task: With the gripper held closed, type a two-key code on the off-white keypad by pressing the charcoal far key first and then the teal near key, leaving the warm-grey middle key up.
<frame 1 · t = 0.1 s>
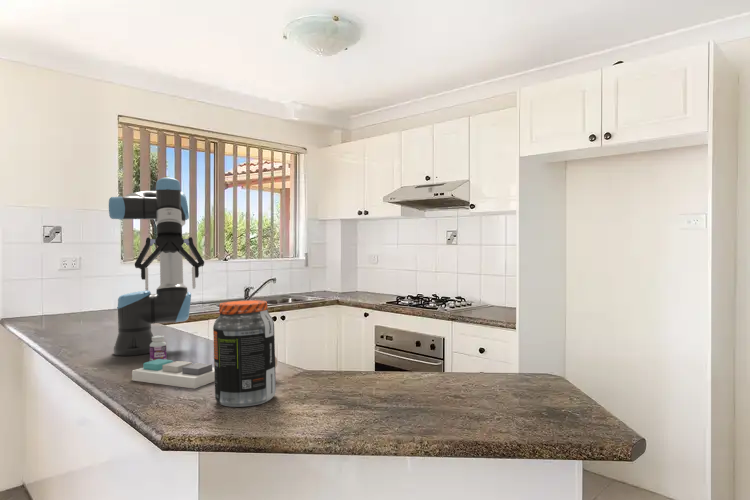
hand: (170, 288, 159), 28 cm above the countertop, tool tilted 20°, fingers open, 13 cm apart
teal key: (158, 366, 161), point 3 cm above the countertop, slide at 0.0 cm
pill bottle: (158, 364, 179), on the countertop
charcoal key: (197, 370, 154), point 3 cm above the countertop, slide at 0.0 cm
keypad: (177, 379, 158), on the countertop
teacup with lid: (261, 378, 158), on the countertop
grey key: (177, 368, 158), point 3 cm above the countertop, slide at 0.0 cm
supplement tub: (245, 400, 136), on the countertop
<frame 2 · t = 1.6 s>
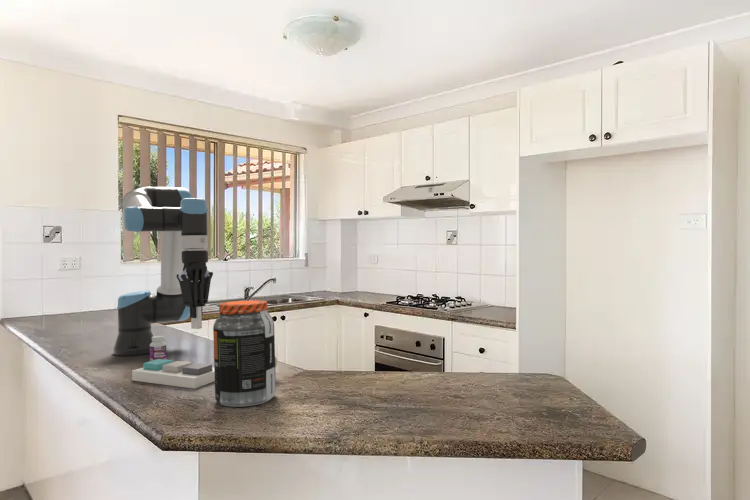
hand: (196, 328, 154), 16 cm above the countertop, tool pointing down, fingers closed
nothing on the countertop moved.
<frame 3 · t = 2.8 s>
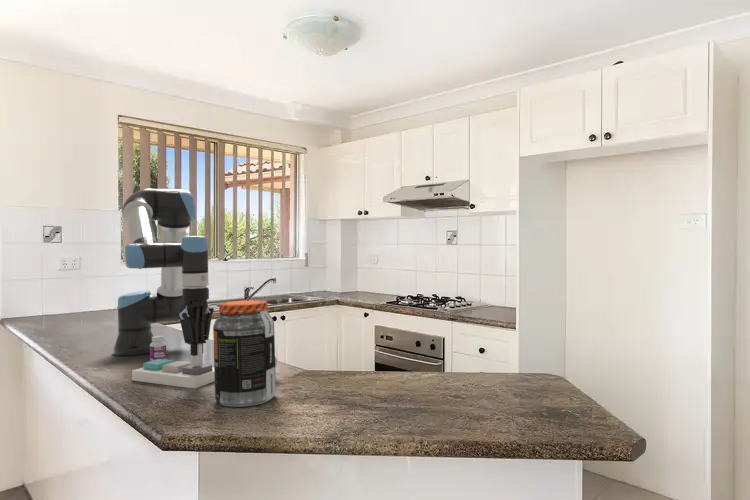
hand: (197, 365, 154), 5 cm above the countertop, tool pointing down, fingers closed
charcoal key: (197, 371, 154), point 3 cm above the countertop, slide at 0.1 cm, touching gripper
everything else where it was.
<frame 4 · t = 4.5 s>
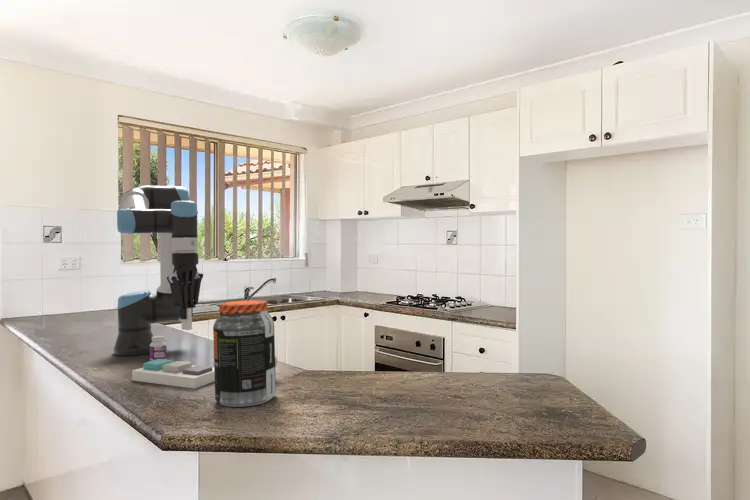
hand: (186, 329, 156), 16 cm above the countertop, tool pointing down, fingers closed
charcoal key: (197, 373, 154), point 3 cm above the countertop, slide at 0.7 cm
everything else where it was.
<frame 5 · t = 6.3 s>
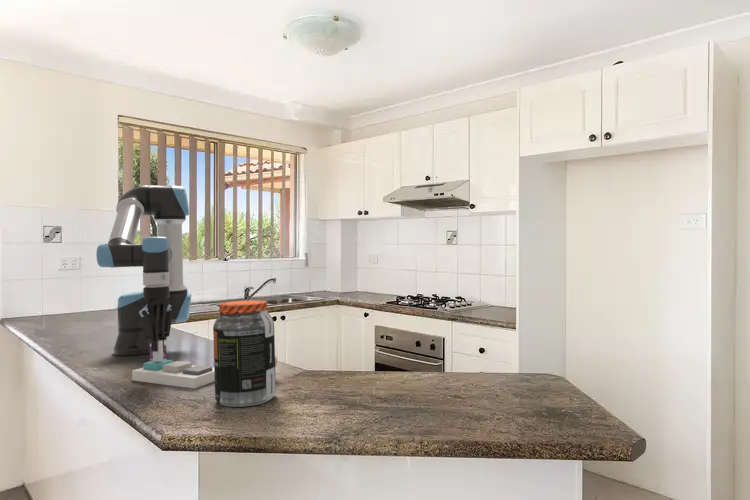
hand: (158, 361, 161), 5 cm above the countertop, tool pointing down, fingers closed
teal key: (158, 366, 161), point 3 cm above the countertop, slide at 0.0 cm, touching gripper
everything else where it was.
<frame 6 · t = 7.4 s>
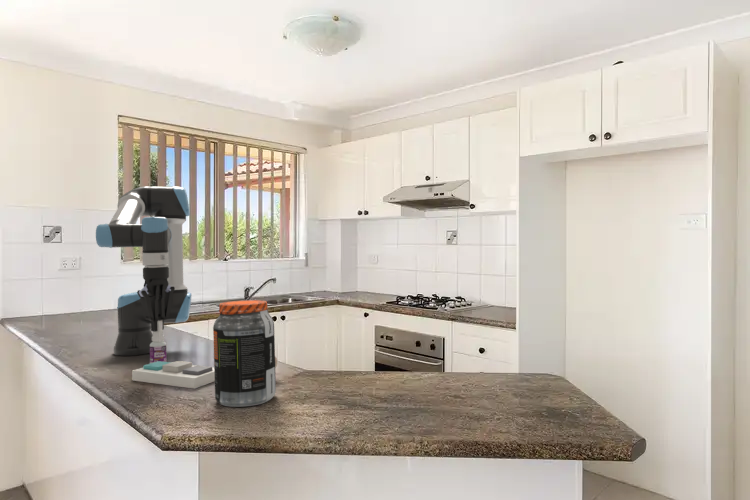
hand: (157, 341, 161), 11 cm above the countertop, tool pointing down, fingers closed
teal key: (158, 368, 161), point 3 cm above the countertop, slide at 0.8 cm
everything else where it was.
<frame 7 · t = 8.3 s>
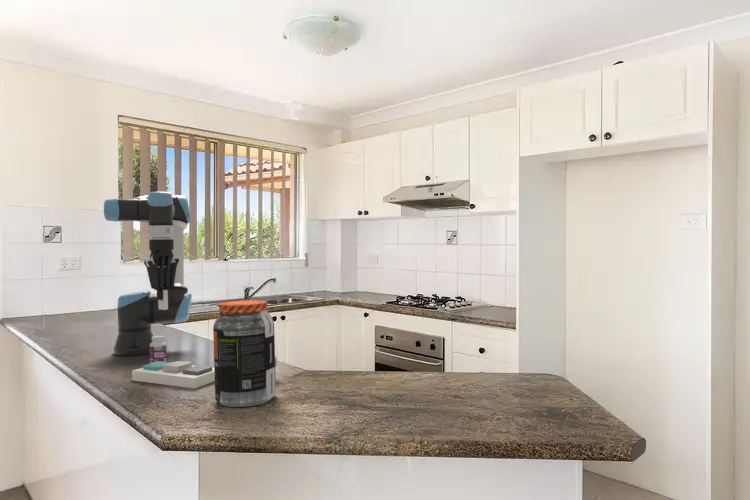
hand: (163, 309, 171), 20 cm above the countertop, tool pointing down, fingers closed
nothing on the countertop moved.
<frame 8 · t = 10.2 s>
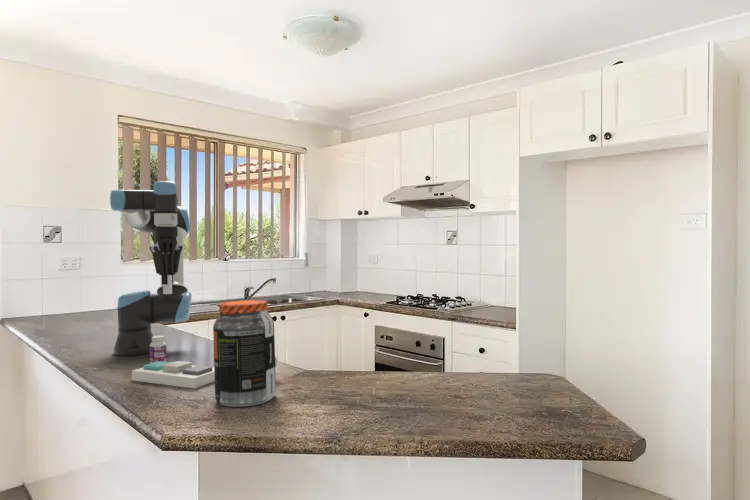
hand: (167, 293, 179), 24 cm above the countertop, tool pointing down, fingers closed
nothing on the countertop moved.
at the end: charcoal key slide at 0.7 cm; teal key slide at 0.8 cm; grey key slide at 0.0 cm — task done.
